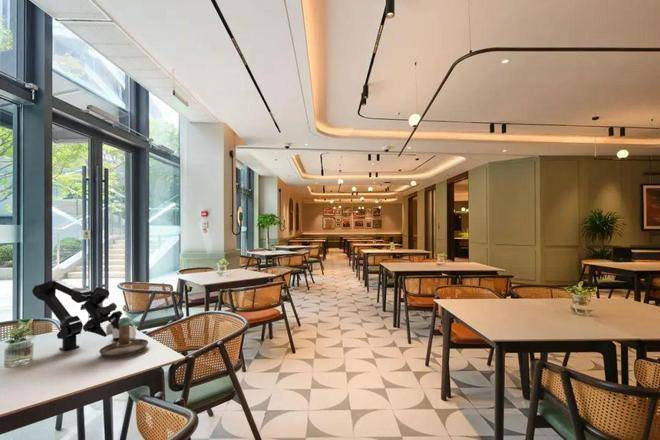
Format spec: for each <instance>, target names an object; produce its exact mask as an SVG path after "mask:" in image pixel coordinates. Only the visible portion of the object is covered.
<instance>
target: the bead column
mask: <svg viewBox="0 0 660 440" xmlns="http://www.w3.org/2000/svg"><path fill="white" fill-rule="evenodd" d="M130 326H131V319H130V318H129V316H128V317H123V318H121V319H120V320H119V340H118V342H119V343H117V348H125V347H129V346H131V345H132V342H131V341H129V340H130V339H129V333H130Z"/></svg>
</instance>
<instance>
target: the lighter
mask: <svg viewBox="0 0 660 440" xmlns="http://www.w3.org/2000/svg"><path fill="white" fill-rule="evenodd" d="M105 327H106V328H105V329H106V330H105V331H106V332H105V333H106V334H111V333H112V325H111V323H110V322H108V324H107V325H106V326H105Z"/></svg>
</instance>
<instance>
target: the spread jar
mask: <svg viewBox="0 0 660 440" xmlns="http://www.w3.org/2000/svg"><path fill="white" fill-rule="evenodd" d="M123 317H128V318H129V316H128V315H121V317H120V319H121V318H123ZM136 336H137V331H136V328H135V327H134V326H132V325H130V333H129V340H131V339H136ZM112 340H114V341H119V330H118V329H116V328H115V327H114V326H112Z"/></svg>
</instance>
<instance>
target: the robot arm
mask: <svg viewBox="0 0 660 440" xmlns="http://www.w3.org/2000/svg"><path fill="white" fill-rule="evenodd" d="M56 290H57V291H60V292H61V293H64V294H66V295H67V296H70V298H71V300H72V301H74V302H75V303H77V304H80V303H81V305H80V311H83V310H85V311H86V312H87V313H88V315H89V316H88V318H89V320H87V321H86V322H85V323H84V324H83V320H81V319H80V317H79V316H78V315H74V316H73V315H71V314H70V313H69V311H68V310H67V309H66V307H65V306H64V304H63V303H62V302H61V301H60V300H59V298H58V297H57V296H56V292H57V291H56ZM32 294H33V296H35V297H36V298H37V300H41V301H43V302H44V303H45V304H46V305H47V306H48V308H49V309H50V310H51V312H52V313H53V315H54V317H56V318H57V320H58V321H59V329H60V330H59V331H58V333H57V334H56V338H57V339H58V340H62V342H61V343H62V345H61V347H59V348H58V350H61V351H63V352H66V351H70V350H74V349H78V348H80V345H79V344H78V345H77V336H78V335H80V334H82V331H84V332H88V333H94V334H97V335H99V336H102V337H104V338H105V337H107V336H108V335H107V333H106V332H105V331H106V330H104V329H103V327H102V326H101V324H102V323H106V322H108V323H111V325H112V326H114V327H115V328H116V329H118V330H119V320H120V317H121V316H123V312H122V311H121V310H116V309H118V306H117V303H115V302H112V303H109V304H108V305H107V306H101V304H103V302H104V301H105V300H106V299H107V298H108V297H109V296H110V291H109V290H108V289H106V288H105V287H102V286H96V288H95V289H94V290H92V289H88V288H82V287H77V286H76V285H73V284H72V283H68V282H66V281H65V280H64V281H63V280H62V279H61V278H55V279H50V280H47V282H43V283H42V284H37V285H34V287H33V288H32Z"/></svg>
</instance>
